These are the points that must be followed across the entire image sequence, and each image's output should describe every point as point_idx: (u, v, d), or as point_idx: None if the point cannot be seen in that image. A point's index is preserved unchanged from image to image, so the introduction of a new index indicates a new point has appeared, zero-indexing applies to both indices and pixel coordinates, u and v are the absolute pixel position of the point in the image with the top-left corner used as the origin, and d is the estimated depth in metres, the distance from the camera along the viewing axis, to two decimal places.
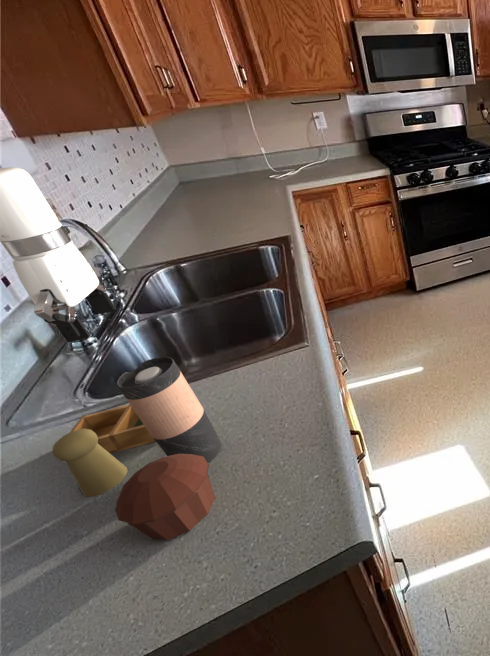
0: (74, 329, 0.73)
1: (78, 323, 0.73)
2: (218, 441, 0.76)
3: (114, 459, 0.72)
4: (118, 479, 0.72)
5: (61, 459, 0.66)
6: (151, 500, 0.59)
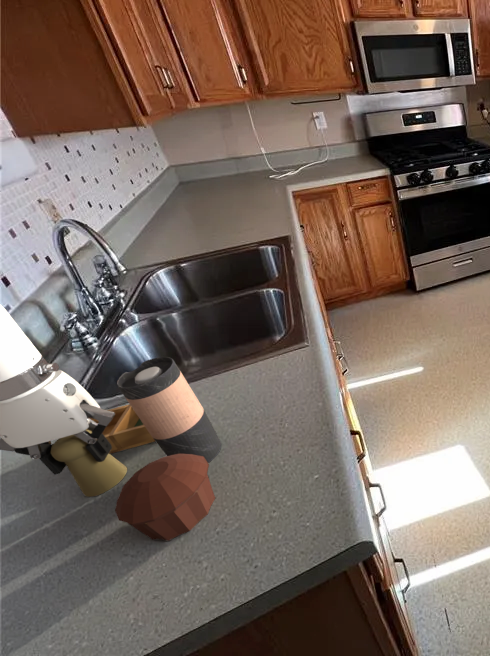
0: None
1: (43, 461, 0.66)
2: (218, 441, 0.76)
3: (113, 459, 0.72)
4: (118, 479, 0.72)
5: (59, 459, 0.66)
6: (151, 500, 0.59)
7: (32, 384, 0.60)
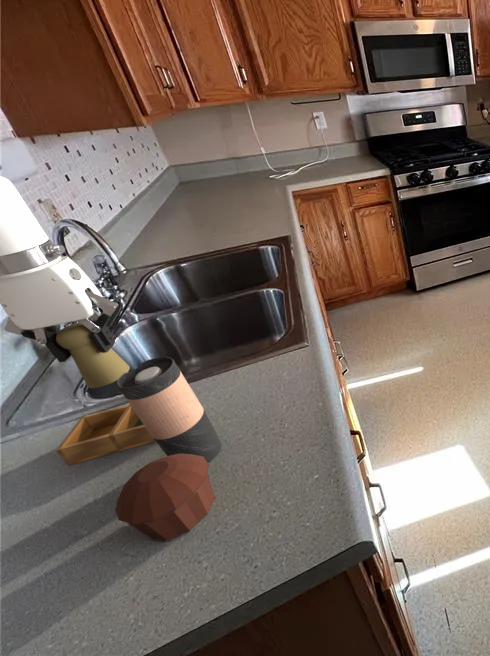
0: (50, 349, 0.69)
1: (49, 347, 0.68)
2: (218, 441, 0.76)
3: (116, 354, 0.74)
4: (121, 374, 0.74)
5: (64, 345, 0.68)
6: (151, 500, 0.59)
7: (39, 262, 0.62)
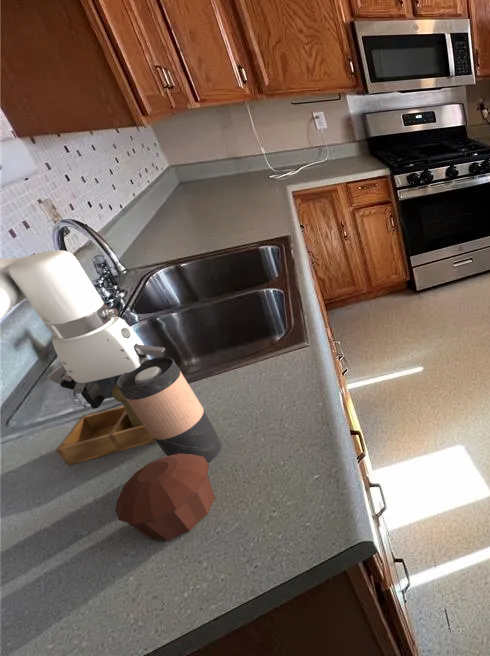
0: (84, 397, 0.75)
1: (84, 395, 0.75)
2: (218, 441, 0.76)
3: None
4: None
5: (119, 399, 0.76)
6: (151, 500, 0.59)
7: (97, 325, 0.70)
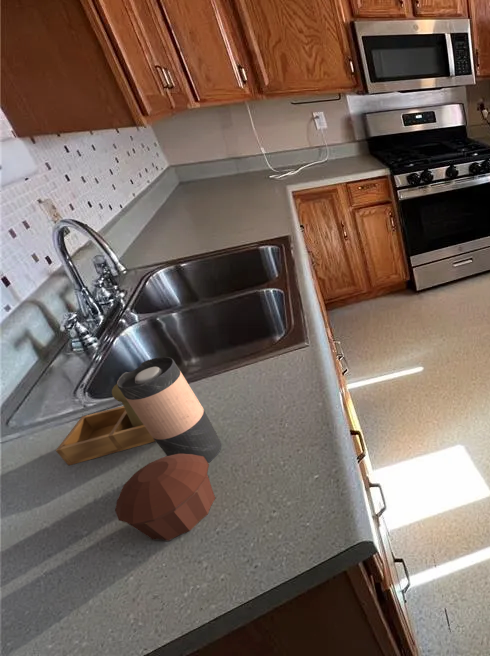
0: None
1: None
2: (218, 441, 0.76)
3: None
4: None
5: (119, 399, 0.76)
6: (151, 500, 0.59)
7: None
